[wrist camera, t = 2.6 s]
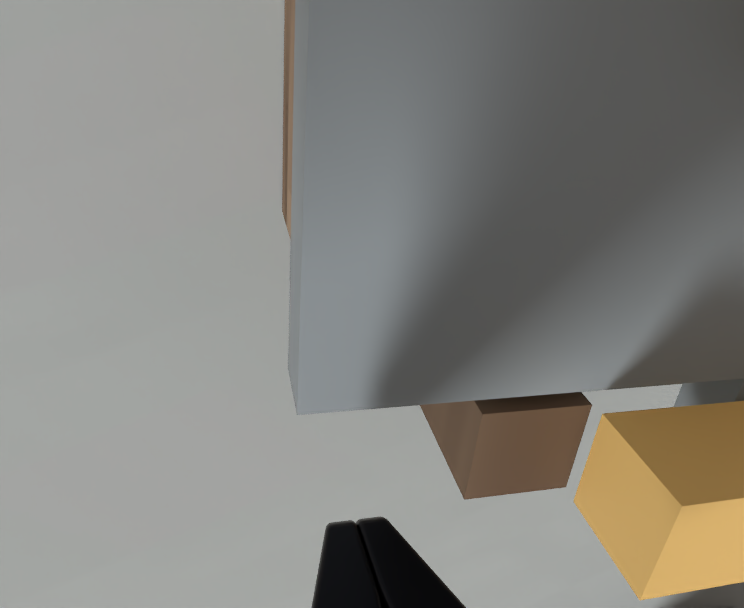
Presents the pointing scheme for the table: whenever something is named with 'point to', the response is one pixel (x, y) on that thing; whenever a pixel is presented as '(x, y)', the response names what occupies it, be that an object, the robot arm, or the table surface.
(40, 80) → the table surface
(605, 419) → the yellow wooden bar
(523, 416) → the brown wooden box
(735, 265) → the lid
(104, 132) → the table surface
